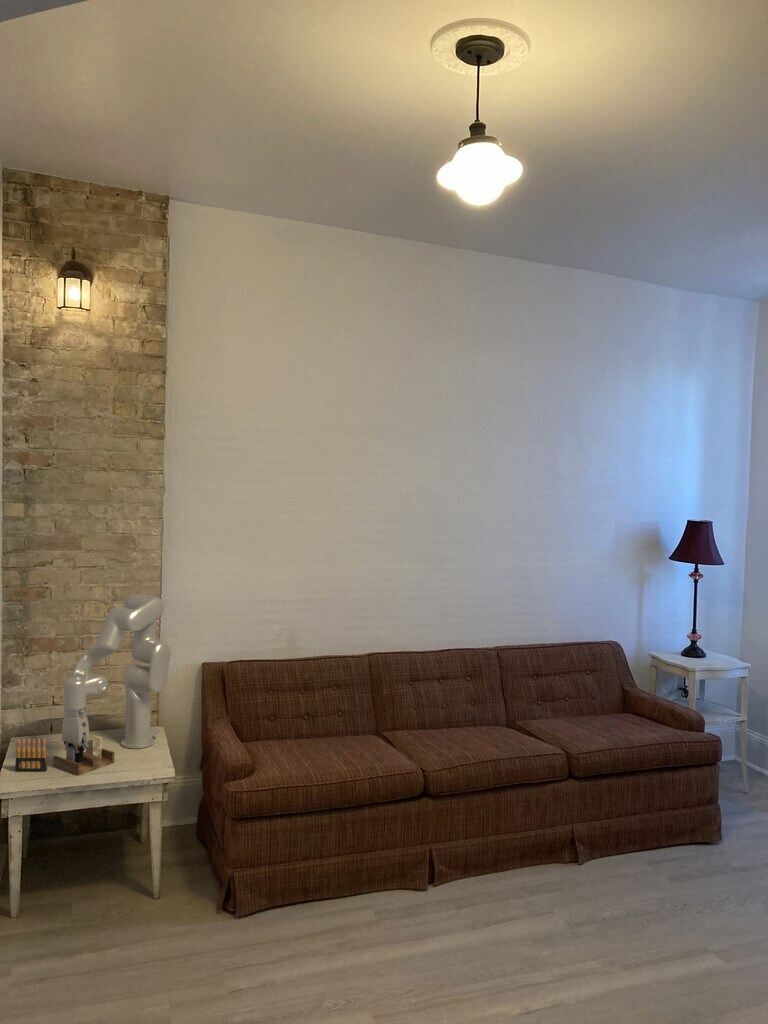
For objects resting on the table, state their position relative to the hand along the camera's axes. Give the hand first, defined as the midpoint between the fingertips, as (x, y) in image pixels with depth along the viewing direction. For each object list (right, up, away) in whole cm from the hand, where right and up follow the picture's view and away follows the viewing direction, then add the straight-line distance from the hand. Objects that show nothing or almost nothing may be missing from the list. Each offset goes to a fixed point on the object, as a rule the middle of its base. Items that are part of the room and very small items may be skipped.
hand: (74, 760), depth 300 cm
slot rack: (+2, -3, +4) cm, 5 cm away
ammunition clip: (-14, -3, -4) cm, 15 cm away
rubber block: (0, -1, 0) cm, 1 cm away
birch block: (+4, -1, +7) cm, 9 cm away
